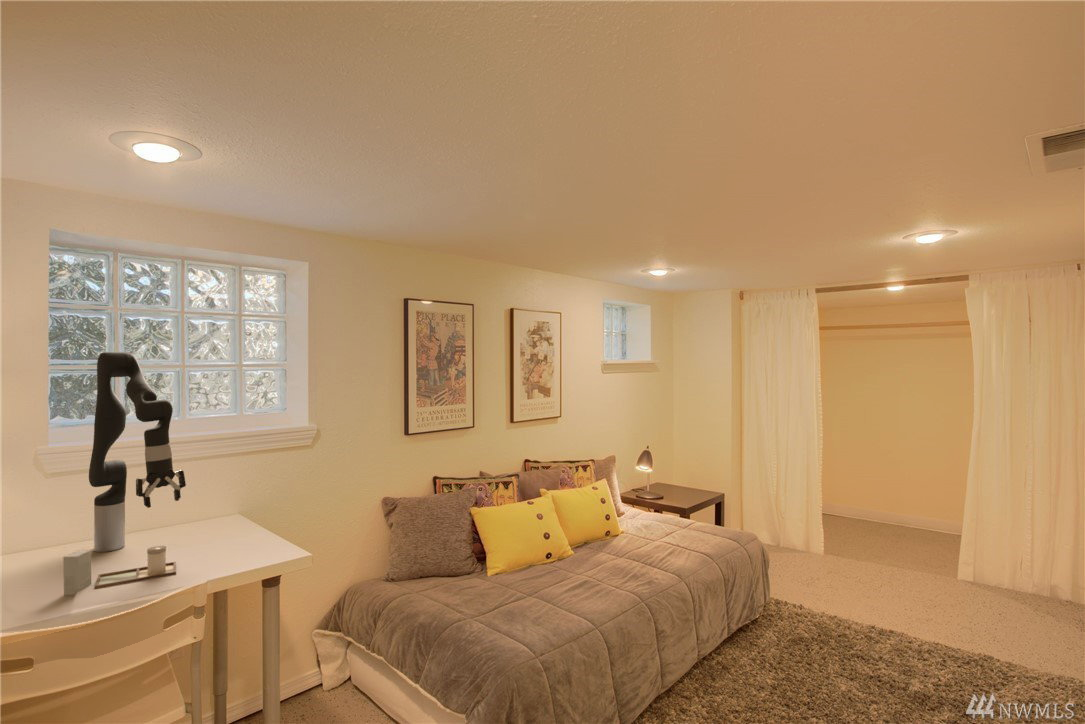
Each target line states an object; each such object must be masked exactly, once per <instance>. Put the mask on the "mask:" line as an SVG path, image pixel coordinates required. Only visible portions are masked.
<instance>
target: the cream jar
mask: <svg viewBox="0 0 1085 724" xmlns="http://www.w3.org/2000/svg"><path fill="white" fill-rule="evenodd" d="M146 552H147V566H148V575H157V574H161V573H164V572H165V571H166V563H167V557H166V555H167V553H166V552H167V546H166V545H155V546H151V547H149V548H147V549H146Z"/></svg>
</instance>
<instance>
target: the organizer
mask: <svg viewBox="0 0 1085 724" xmlns="http://www.w3.org/2000/svg"><path fill="white" fill-rule="evenodd" d="M176 565H177V564H176V561H171V562H166V571H165V572H164V573H161V574H157V575H148V565H147V566H141V567H136V568H130V569H123V570H118V571H112V572H106V573H100V574H98V575H97V579H96V582H95V585H94V589H101V588H107V587H111V586H112V587H113V586H119V585H123V584H124V585H125V584H129V583H134V582H141V581H146V580H151V579H157V578H162V577H163V578H164V577H167V576H175V575H177V571H176V570H177V569H176V568H177V567H176Z"/></svg>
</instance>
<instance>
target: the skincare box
mask: <svg viewBox="0 0 1085 724" xmlns="http://www.w3.org/2000/svg"><path fill="white" fill-rule="evenodd" d="M62 559H63V560H62V561H63V596H76V595H77V593H78V592H81V591H82V590H83V589H85V588H87V587H89V586H91V585H92V582H93V581H92V549H79V550H75V551H73V552H71V553H69V554H67V555H64V556H63V558H62Z"/></svg>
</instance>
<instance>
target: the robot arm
mask: <svg viewBox="0 0 1085 724" xmlns="http://www.w3.org/2000/svg"><path fill="white" fill-rule="evenodd" d="M96 361H97V362H96V385H97V387H96V388H97V390H96V402H95V403H96V405H95V412H94V424H93V444H92V452H91V457H90V462H89V463H90V464H89V469H88V480H89V481H88V482H89V484H90V486H91V487H93V488H100V487H107V486H109V487H110V488H108V489H107V490H106V491H104V492H103V493H100V494H99V495H96V496H95V498H94V503H93V506H94V507H93V508H94V509H93V512H94V514H93V515H94V517H93V518H94V521H93V526H94V527H93V529H94V530H93V538H94V540H93V547H94V548H93V551H94V552H96V553H97V552H98V553H103V552H104V553H105V552H112V551H116V550H119V549H122V548H124V547H125V546H126V541H125V540H126V539H125V538H126V494H127V492H126V490H127V477H128V475H127V474H128V470H127V464H126V461H124V460H122V459H114V460H106V457H107V454H108V452H109V450H110V449H111V447H112V446H114V445H113V444H114V443H115V442H116V441H117V440H118V439H119V438H120V436H121V435H122V434H123V433H124V431H125V428H126V420H127V410H126V408H125V406H124V404H123V403H122V401H121V400H120V399H119V398H118V396H117V395H116V393H115V392H114V389H113V386H112V378H126V377H128V378H129V379H128V382H127V384H126V387H125V392H126V395H127V396H128V398H129V399H130V401H131V402H132V403H133V405H134V411H135V413H134V414H135V416H136V419H137V420H138V421H140V422H142V423H149V422H150V423H151V422H157V424H156V425H155V426H153V427H150V428H147V429H146V430H144V432H143V439H144V458H145V470H146V477H143V478H140V477H138V478H136V479H135V494H136V496H137V497H142V498H143V505H144V506H145V507H146V508H148V509H149V508H151V507H152V505H151V496H150V495H151V494H152V493H153V491H154V490H155V489H159V488H162V487H168V486H170V487H172V489H173V498H174V501H175V502H177V501H179V500H180V499H181V497H182V496H181V489H183V488H185V487H186V486H187V483H186V477H185V472H184V470H181V469H178V470H177V471H174V468H173V457H172V455H173V454H172V448H171V444H170V435H169V433H170V425H171V420H172V416H173V412H174V411H173V409H174V408H173V405H172V403H171V401H169V400H168V399H158V397H157V394H156V392H155V391H154V390H153V389H152V387H151V386H150V384H149V383H148V381H147V379H146V378H145V376H144V373H143V370H142V369H141V366H140V365H139V362H138V360H137V358H136V357H135V355H134V354H132V353H131V352H126V351H125V352H124V351H123V352H122V351H121V352H120V351H119V352H117V351H113V352H112V351H111V352H110V351H108V352H107V351H106V352H105V351H104V352H101V353H100V354H99V356H98V358H97V360H96ZM157 399H158V400H157ZM175 477H176V478H178V484H177V483H176V482H175V481H174V480H173V479H174V478H175ZM145 483H148V485H147V486H146V487H145V490H144V491H143V488H144V487H143V485H145Z"/></svg>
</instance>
